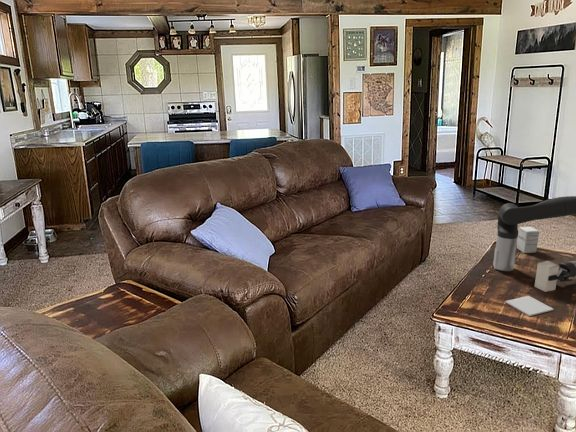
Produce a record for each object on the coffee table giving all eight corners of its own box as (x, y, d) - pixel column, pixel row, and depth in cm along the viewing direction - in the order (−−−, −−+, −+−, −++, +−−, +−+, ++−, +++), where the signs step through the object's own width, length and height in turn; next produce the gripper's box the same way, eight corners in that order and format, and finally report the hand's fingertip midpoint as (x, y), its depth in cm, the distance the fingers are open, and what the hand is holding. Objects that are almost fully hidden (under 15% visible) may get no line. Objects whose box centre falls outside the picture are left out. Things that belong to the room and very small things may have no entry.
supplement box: (516, 248, 260) (519, 227, 256) (528, 247, 261) (531, 226, 257) (523, 253, 253) (526, 231, 249) (536, 252, 254) (539, 230, 250)
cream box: (545, 292, 210) (549, 267, 206) (534, 286, 215) (537, 262, 211) (555, 289, 211) (559, 265, 208) (544, 284, 217) (547, 260, 213)
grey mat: (529, 316, 190) (529, 314, 190) (505, 302, 202) (505, 301, 201) (553, 310, 194) (553, 308, 194) (528, 296, 206) (528, 295, 206)
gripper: (558, 256, 221) (530, 262, 216) (585, 268, 208) (557, 274, 203) (555, 271, 223) (528, 277, 218) (583, 283, 210) (555, 289, 205)
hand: (542, 275), depth 210 cm, fingers closed on cream box, 6 cm apart
